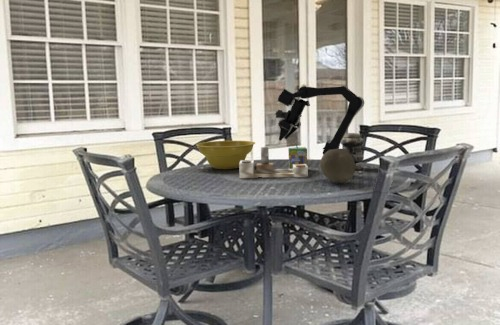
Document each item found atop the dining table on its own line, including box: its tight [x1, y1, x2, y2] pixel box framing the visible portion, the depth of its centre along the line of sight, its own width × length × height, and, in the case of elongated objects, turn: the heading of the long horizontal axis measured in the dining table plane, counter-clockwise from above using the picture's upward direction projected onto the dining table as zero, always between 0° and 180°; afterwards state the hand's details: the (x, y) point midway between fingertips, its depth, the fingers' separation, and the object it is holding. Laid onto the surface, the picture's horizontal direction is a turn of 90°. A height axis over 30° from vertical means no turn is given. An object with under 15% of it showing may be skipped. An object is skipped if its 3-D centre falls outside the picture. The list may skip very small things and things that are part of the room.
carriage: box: [255, 146, 275, 170], centre depth 244 cm, size 8×8×10 cm
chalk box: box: [288, 141, 309, 169], centre depth 260 cm, size 9×9×15 cm
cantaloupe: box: [320, 148, 356, 185], centre depth 217 cm, size 14×14×15 cm
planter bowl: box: [195, 140, 256, 170], centre depth 278 cm, size 32×32×13 cm
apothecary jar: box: [340, 132, 365, 171], centre depth 260 cm, size 12×12×18 cm
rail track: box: [238, 159, 309, 179], centre depth 245 cm, size 32×12×8 cm, turn 88°
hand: (282, 139), depth 251 cm, fingers open, 9 cm apart
